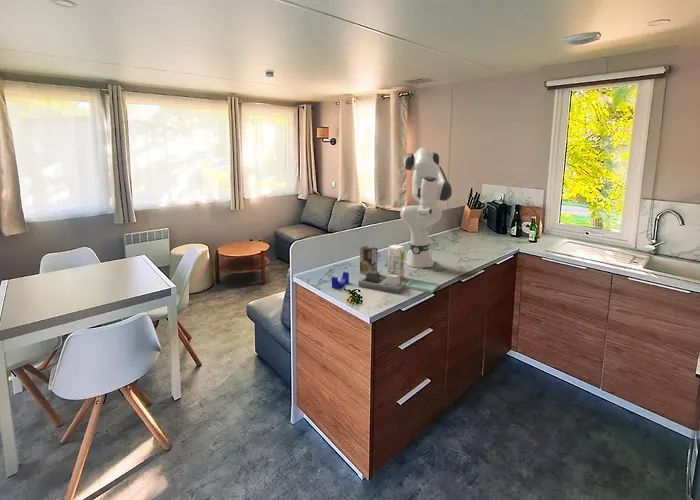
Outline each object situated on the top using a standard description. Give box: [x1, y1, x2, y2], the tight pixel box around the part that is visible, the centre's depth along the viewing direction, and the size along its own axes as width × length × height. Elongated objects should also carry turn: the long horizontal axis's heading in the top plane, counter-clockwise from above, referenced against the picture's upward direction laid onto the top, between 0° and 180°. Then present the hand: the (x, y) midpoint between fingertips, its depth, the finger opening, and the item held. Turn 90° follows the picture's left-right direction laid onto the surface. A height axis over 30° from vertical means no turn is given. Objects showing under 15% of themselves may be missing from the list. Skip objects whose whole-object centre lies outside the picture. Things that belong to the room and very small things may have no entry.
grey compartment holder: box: [358, 271, 407, 295], centre depth 211 cm, size 10×24×8 cm, turn 61°
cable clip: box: [331, 271, 350, 290], centre depth 214 cm, size 12×4×6 cm, turn 145°
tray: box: [405, 278, 440, 294], centre depth 212 cm, size 12×16×2 cm
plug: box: [385, 274, 401, 287], centre depth 207 cm, size 4×6×6 cm
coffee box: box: [359, 245, 378, 275], centre depth 234 cm, size 9×6×16 cm
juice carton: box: [387, 244, 406, 279], centre depth 226 cm, size 8×9×19 cm
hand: (426, 234), depth 206 cm, fingers open, 8 cm apart
